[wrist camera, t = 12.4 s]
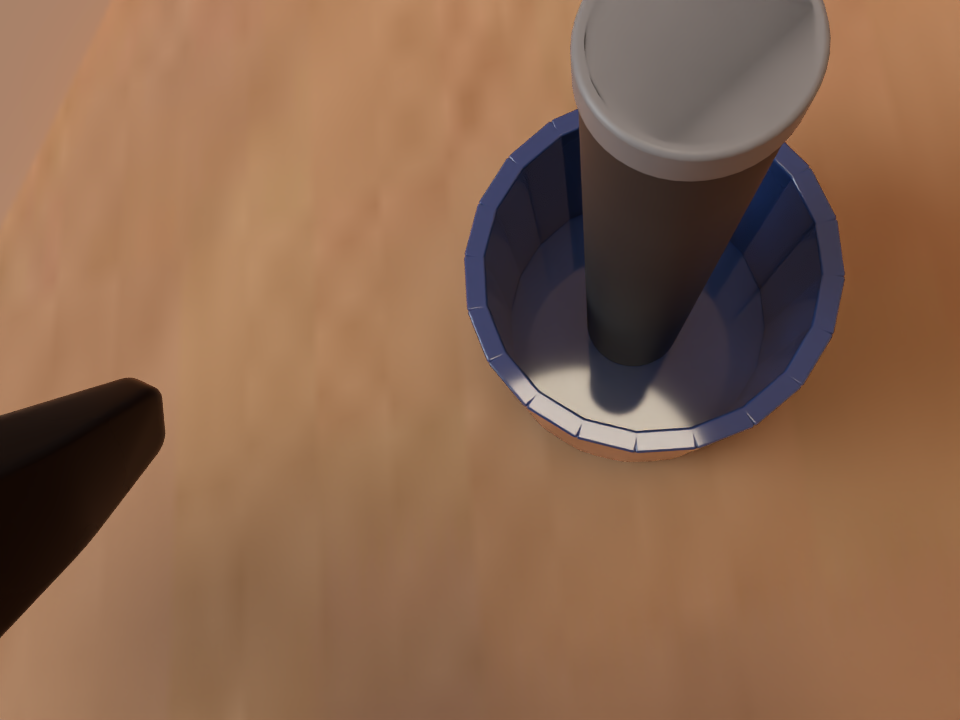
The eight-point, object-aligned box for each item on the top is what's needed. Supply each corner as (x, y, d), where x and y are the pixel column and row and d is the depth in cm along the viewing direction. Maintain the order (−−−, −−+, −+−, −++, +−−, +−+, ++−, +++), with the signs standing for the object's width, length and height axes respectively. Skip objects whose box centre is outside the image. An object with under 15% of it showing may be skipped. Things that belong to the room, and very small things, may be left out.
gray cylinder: (650, 386, 19) (747, 203, 7) (567, 337, 20) (523, 86, 7) (699, 305, 19) (881, -13, 7) (616, 259, 20) (652, -116, 7)
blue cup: (683, 515, 19) (718, 526, 14) (449, 370, 20) (397, 328, 15) (827, 278, 19) (915, 198, 14) (587, 151, 21) (585, 34, 15)
